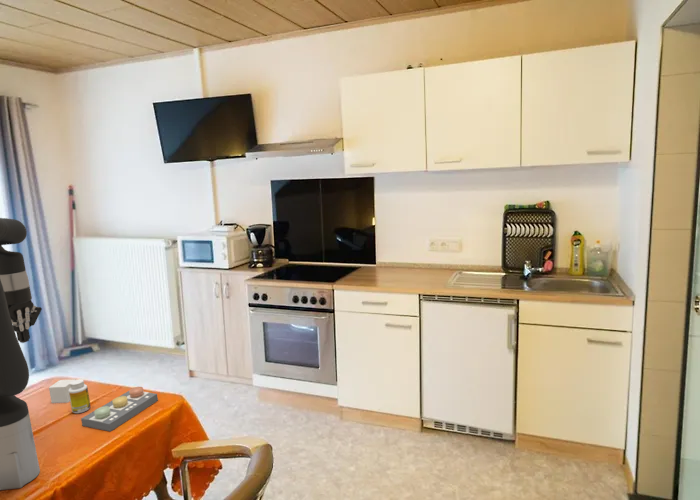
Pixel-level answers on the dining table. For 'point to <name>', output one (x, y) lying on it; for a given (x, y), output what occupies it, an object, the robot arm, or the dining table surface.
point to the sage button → (102, 412)
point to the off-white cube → (60, 391)
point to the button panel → (120, 412)
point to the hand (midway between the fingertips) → (24, 341)
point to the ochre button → (120, 401)
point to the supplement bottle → (79, 396)
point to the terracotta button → (136, 391)
